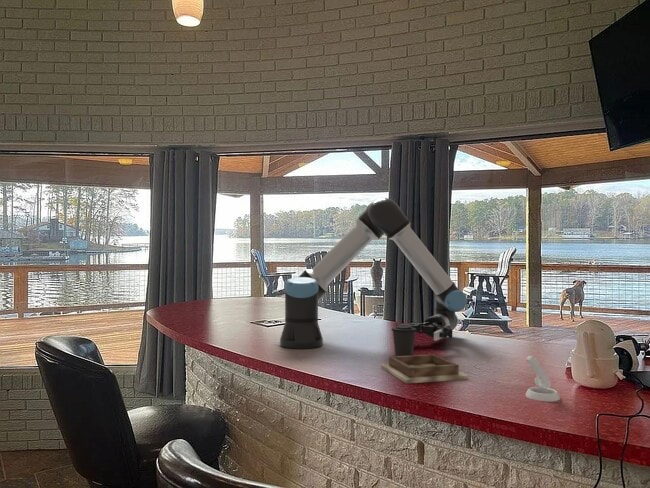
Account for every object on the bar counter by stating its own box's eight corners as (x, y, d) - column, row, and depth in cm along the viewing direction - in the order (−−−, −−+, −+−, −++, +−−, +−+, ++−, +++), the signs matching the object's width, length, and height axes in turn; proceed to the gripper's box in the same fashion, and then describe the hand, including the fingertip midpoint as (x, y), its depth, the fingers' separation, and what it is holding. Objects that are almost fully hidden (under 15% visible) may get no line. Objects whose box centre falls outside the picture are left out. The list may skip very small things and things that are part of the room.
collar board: (406, 383, 142) (406, 370, 142) (381, 367, 159) (381, 355, 159) (467, 379, 147) (468, 366, 146) (437, 364, 164) (437, 352, 164)
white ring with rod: (501, 373, 132) (517, 354, 135) (529, 412, 133) (545, 392, 136) (522, 373, 125) (539, 354, 128) (552, 414, 126) (568, 394, 129)
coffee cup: (410, 361, 167) (410, 329, 167) (386, 358, 172) (386, 326, 172) (420, 356, 174) (421, 325, 174) (397, 353, 179) (397, 323, 178)
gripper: (470, 339, 193) (451, 349, 174) (404, 332, 205) (380, 342, 187) (470, 318, 192) (452, 326, 174) (404, 313, 205) (380, 320, 187)
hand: (415, 334), depth 181 cm, fingers open, 13 cm apart
